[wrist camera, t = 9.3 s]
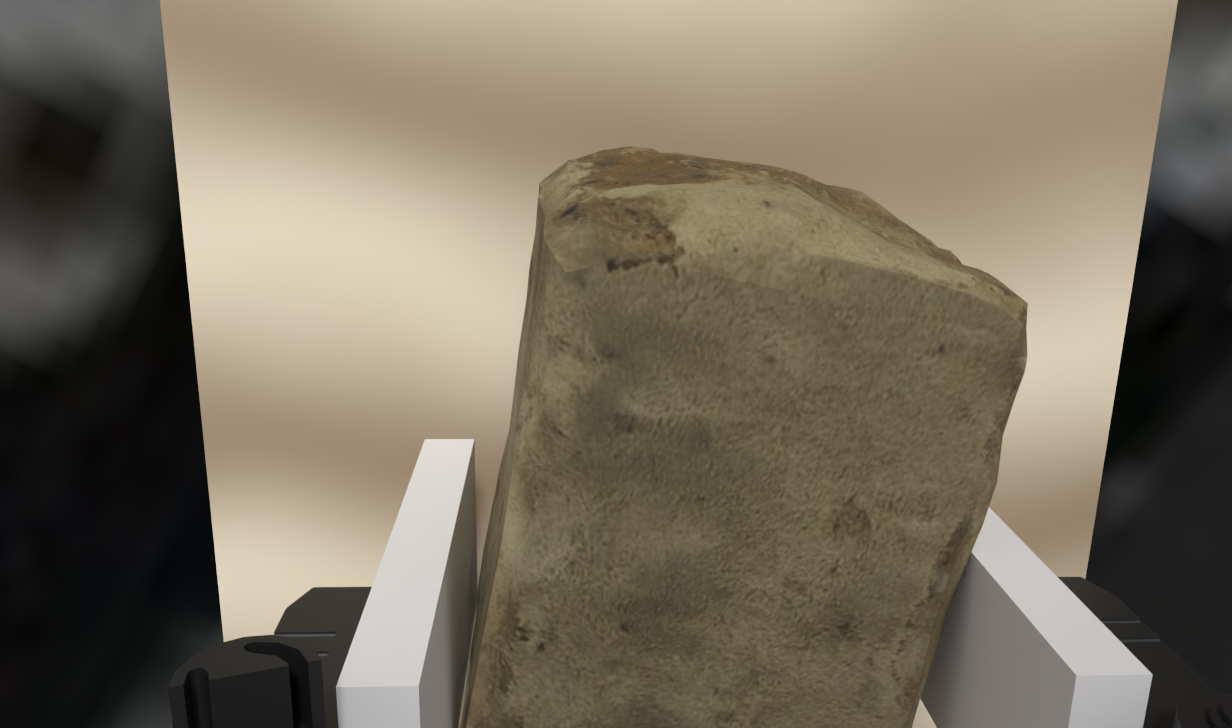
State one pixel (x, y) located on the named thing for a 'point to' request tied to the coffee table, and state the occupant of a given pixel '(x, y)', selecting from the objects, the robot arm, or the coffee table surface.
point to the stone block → (735, 454)
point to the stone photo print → (570, 129)
